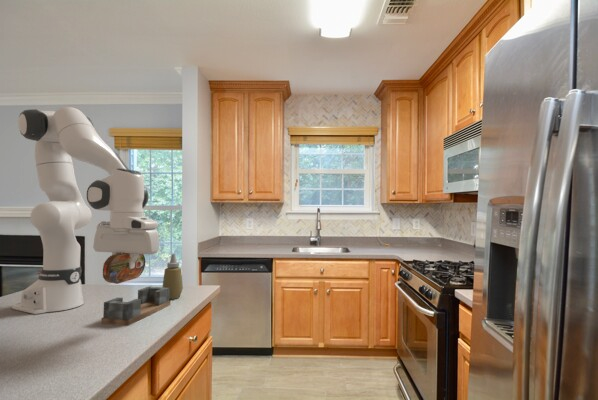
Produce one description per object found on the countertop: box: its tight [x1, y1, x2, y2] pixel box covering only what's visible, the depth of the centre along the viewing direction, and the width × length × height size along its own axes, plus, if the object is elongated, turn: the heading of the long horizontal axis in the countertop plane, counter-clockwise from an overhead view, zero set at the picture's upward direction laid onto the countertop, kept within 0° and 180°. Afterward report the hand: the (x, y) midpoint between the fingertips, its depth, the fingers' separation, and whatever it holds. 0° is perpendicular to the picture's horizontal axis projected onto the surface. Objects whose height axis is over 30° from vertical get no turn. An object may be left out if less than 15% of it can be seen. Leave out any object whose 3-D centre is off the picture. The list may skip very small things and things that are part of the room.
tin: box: [102, 253, 146, 285], centre depth 95 cm, size 15×3×8 cm, turn 169°
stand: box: [100, 286, 171, 326], centre depth 110 cm, size 10×22×6 cm, turn 169°
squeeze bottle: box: [162, 253, 184, 300], centre depth 130 cm, size 8×8×18 cm
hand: (124, 267), depth 95 cm, fingers closed on tin, 2 cm apart
